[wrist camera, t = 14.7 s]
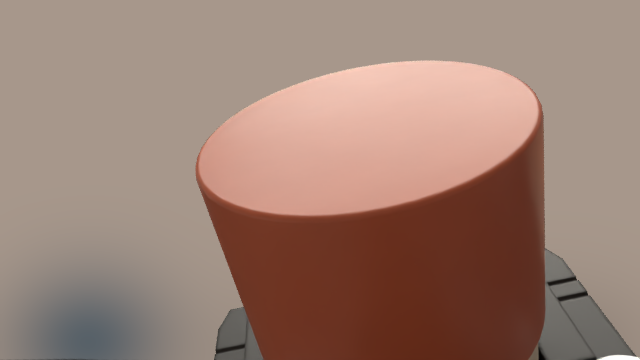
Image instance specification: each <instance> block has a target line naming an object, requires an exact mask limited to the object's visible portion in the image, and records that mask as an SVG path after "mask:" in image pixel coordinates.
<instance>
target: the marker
mask: <svg viewBox="0 0 640 360" xmlns="http://www.w3.org/2000/svg"><path fill="white" fill-rule="evenodd" d="M543 130H544V129H543V111H542V105H541V103H540V101H539V100H538V98H537V96H536V94H535V92H534V91H533V90H532V89H531V88H530V87H529V86H528V85H527V84H525V83H524V82H522V81H521V80H519V79H518V78H516V77H514V76H512V75H510V74H508V73H505V72H502V71H499V70H496V69H493V68H489V67H485V66H481V65H475V64H469V63H461V62H449V61H407V62H393V63H384V64H377V65H370V66H364V67H359V68H353V69H348V70H344V71H340V72H336V73H331V74H327V75H324V76H321V77H317V78H314V79H310V80H307V81H304V82H301V83H299V84H296V85H294V86H291V87H288V88H285V89H283V90H280V91H278V92H276V93H274V94H272V95H269V96H267V97H265V98H263V99H261V100H259V101H257V102H256V103H253V104H252V105H250V106H249V107H247V108H245V109H243V110H242V111H240V112H238V113H237V114H235V115H234V116H233V117H231V118H230V119H228V120H227V121H226V122H225V123H224V124H222V125H221V126H220V127H219V128H218V129H217V130H216V131H215V132H214V133H213V134H212V135H211V136H210V137H209V138H208V139H207V141H206V142H205V144H204V145H203V147H202V148H201V151H200V153H199V155H198V158H197V163H196V179H197V183H198V185H199V188H200V191H201V193H202V196H203V198H204V201H205V204H206V206H207V209H208V212H209V215H210V217H211V220H212V223H213V226H214V228H215V231H216V233H217V236H218V239H219V241H220V244H221V247H222V250H223V252H224V255H225V258H226V260H227V263H228V266H229V268H230V271H231V274H232V277H233V279H234V282H235V284H236V287H237V290H238V292H239V295H240V298H241V301H242V303H243V306H244V309H245V311H246V314H247V317H248V320H249V322H250V325H251V328H252V330H253V333H254V336H255V338H256V341H257V344H258V346H259V349H260V352H261V354H262V357H263V359H264V360H539V356H538V342H539V340H540V337H541V333H542V330H543V326H544V320H545V310H546V307H545V221H544V220H545V218H544V135H543V133H544V131H543Z"/></svg>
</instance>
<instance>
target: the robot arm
mask: <svg viewBox="0 0 640 360" xmlns="http://www.w3.org/2000/svg"><path fill="white" fill-rule="evenodd" d="M545 307H546V310H545V320H544V326H543V330H542V333H541V337H540V340H539V342H538V356H539V360H640V358H638V357H637V356H636V355H635V354H634V353H633V352H632V350H631V349H630V348H629V346H628V345H627V344H626V342H625V341H624V340H623V338H622V337H621V336H620V335H619V333H618V332H617V330H615V328H614V327H613V325H612V324H611V323H610V321H609V320H608V319H607V317H606V316H605V315H604V313H603V312H602V311H601V309H600V308H599V307H598V305H597V304H596V303H595V301H594V300H593V299H592V297H591V296H588V293H587V291H586V289H585V288H584V287H583V285H582V284H581V283H580V282H579V280H578V281H577V279H576V276H575V275H574V273H573V272H572V271H571V269H570V268H569V267H568V266H567V264H566V263H565V262H564V260H563V259H562V258H560V257H559V256H557V255H555V254H554V253H552V252H550V251H549V250H547V249H545ZM214 360H264V359H263V357H262V354H261V352H260V349H259V346H258V344H257V341H256V338H255V336H254V333H253V330H252V328H251V325H250V322H249V320H248V317H247V314H246V311H245V309H244V307H241V308H237V309H232V310H230V311H229V313H228V315H227V316H226V318H225V320H224V321H223V323H222V325H221V326H220V328H219V329H218V336H217V343H216V354H215V358H214Z"/></svg>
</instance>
